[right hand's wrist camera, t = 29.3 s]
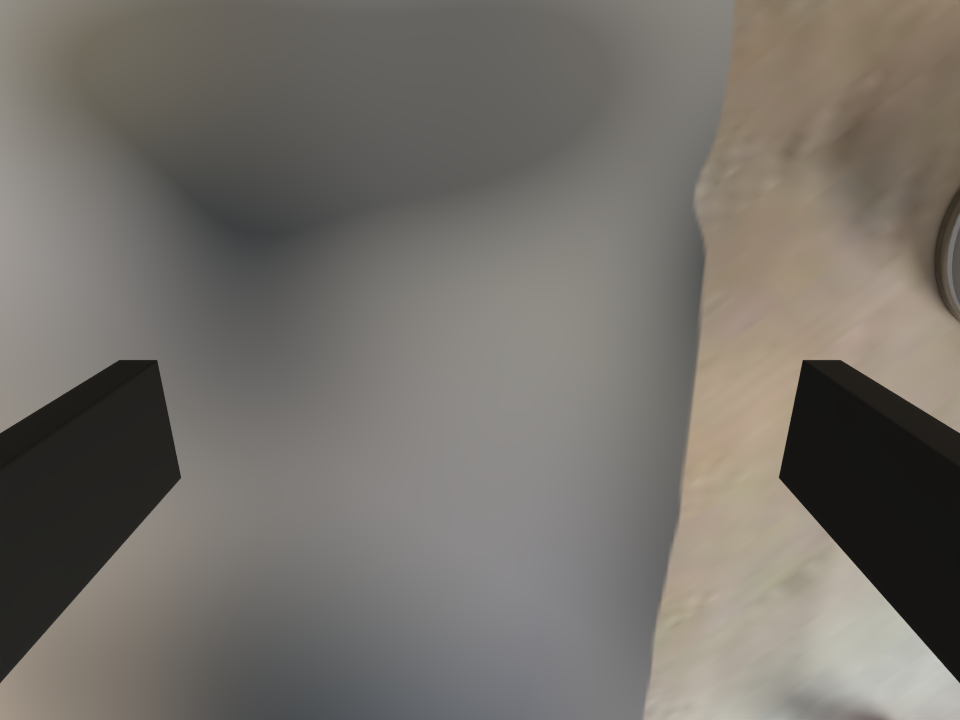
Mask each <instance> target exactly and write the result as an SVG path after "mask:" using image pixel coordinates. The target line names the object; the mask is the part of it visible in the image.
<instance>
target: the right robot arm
mask: <svg viewBox="0 0 960 720" xmlns="http://www.w3.org/2000/svg"><path fill="white" fill-rule="evenodd" d="M935 272H936V279H937V284H938V288H939V291H940V294H941V296H942V299H943V301H944V302H945V304H946V306H947V308H948V309H949V310H950V312H951V313H952V314H953V315H954V316H955V318H956V319H957V320H958V321H960V190H959V192H958V193H957V195H956V197H955V198H954V200H953V202H952V204H951V205H950V208H949V210H948V212H947V214H946V216H945V219H944V221H943V224H942V227H941V230H940V233H939V237H938V241H937V247H936V256H935ZM180 478H181V475H180V470H179V465H178V460H177V456H176V451H175V446H174V441H173V436H172V431H171V426H170V421H169V416H168V411H167V406H166V402H165V397H164V392H163V387H162V382H161V377H160V372H159V367H158V362H157V360H119V361H117V362H116V363H114V364H112V365H111V366H109V367H107V368H106V369H104V370H103V371H101V372H99V373H98V374H96V375H95V376H93V377H91V378H90V379H88V380H86V381H85V382H83V383H82V384H80V385H78V386H77V387H75V388H73V389H72V390H70V391H69V392H67V393H65V394H64V395H62V396H60V397H59V398H57V399H55V400H54V401H52V402H51V403H49V404H47V405H46V406H44V407H42V408H41V409H39V410H37V411H36V412H34V413H33V414H31V415H29V416H28V417H26V418H24V419H23V420H21V421H20V422H18V423H16V424H15V425H13V426H11V427H10V428H8V429H7V430H5V431H3V432H2V433H0V683H1V681H2V680H3V679H4V678H5V677H6V676H7V675H8V674H9V672H10V671H11V670H12V669H13V668H14V667H15V666H16V664H17V663H18V662H19V661H20V660H21V659H22V658H23V657H24V655H25V654H26V653H27V652H28V651H29V650H30V649H31V647H32V646H33V645H34V644H35V643H36V642H37V641H38V639H39V638H40V637H41V636H42V635H43V634H44V633H45V632H46V630H47V629H48V628H49V627H50V626H51V625H52V624H53V622H54V621H55V620H56V619H57V618H58V617H59V616H60V615H61V613H62V612H63V611H64V610H65V609H66V608H67V607H68V605H69V604H70V603H71V602H72V601H73V600H74V599H75V598H76V596H77V595H78V594H79V593H80V592H81V591H82V589H83V588H84V587H85V586H86V585H87V584H88V583H89V582H90V581H91V579H92V578H93V577H94V576H95V575H96V574H97V573H98V571H99V570H100V569H101V568H102V567H103V566H104V565H105V563H106V562H107V561H108V560H109V559H110V558H111V557H112V556H113V554H114V553H115V552H116V551H117V550H118V549H119V548H120V546H121V545H122V544H123V543H124V542H125V541H126V540H127V539H128V537H129V536H130V535H131V534H132V533H133V532H134V531H135V529H136V528H137V527H138V526H139V525H140V524H141V523H142V522H143V520H144V519H145V518H146V517H147V516H148V515H149V514H150V512H151V511H152V510H153V509H154V508H155V507H156V506H157V505H158V503H159V502H160V501H161V500H162V499H163V498H164V497H165V495H166V494H167V493H168V492H169V491H170V490H171V489H172V488H173V486H174V485H175V484H176V483H177V482H178V481H179V480H180ZM779 478H780V480H781V481H782V482H783V483H784V484H785V485H786V486H787V488H788V489H789V490H790V491H791V492H792V493H793V494H794V495H795V497H796V498H797V499H798V500H799V501H800V502H801V503H802V505H803V506H804V507H805V508H806V509H807V510H808V511H809V512H810V514H811V515H812V516H813V517H814V518H815V519H816V520H817V522H818V523H819V524H820V525H821V526H822V527H823V528H824V529H825V531H826V532H827V533H828V534H829V535H830V536H831V537H832V539H833V540H834V541H835V542H836V543H837V544H838V545H839V547H840V548H841V549H842V550H843V551H844V552H845V553H846V554H847V556H848V557H849V558H850V559H851V560H852V561H853V562H854V564H855V565H856V566H857V567H858V568H859V569H860V570H861V571H862V573H863V574H864V575H865V576H866V577H867V578H868V579H869V581H870V582H871V583H872V584H873V585H874V586H875V587H876V588H877V590H878V591H879V592H880V593H881V594H882V595H883V596H884V598H885V599H886V600H887V601H888V602H889V603H890V604H891V605H892V607H893V608H894V609H895V610H896V611H897V612H898V613H899V615H900V616H901V617H902V618H903V619H904V620H905V621H906V623H907V624H908V625H909V626H910V627H911V628H912V629H913V630H914V632H915V633H916V634H917V635H918V636H919V637H920V638H921V640H922V641H923V642H924V643H925V644H926V645H927V646H928V647H929V649H930V650H931V651H932V652H933V653H934V654H935V655H936V657H937V658H938V659H939V660H940V661H941V662H942V663H943V664H944V666H945V667H946V668H947V669H948V670H949V671H950V672H951V674H952V675H953V676H954V677H955V678H956V679H957V680H958V682H959V683H960V433H958V432H957V431H955V430H953V429H952V428H950V427H949V426H947V425H945V424H944V423H942V422H940V421H939V420H937V419H936V418H934V417H932V416H931V415H929V414H927V413H926V412H924V411H923V410H921V409H919V408H918V407H916V406H914V405H913V404H911V403H909V402H908V401H906V400H905V399H903V398H901V397H900V396H898V395H896V394H895V393H893V392H892V391H890V390H888V389H887V388H885V387H883V386H882V385H880V384H879V383H877V382H875V381H874V380H872V379H870V378H869V377H867V376H866V375H864V374H862V373H861V372H859V371H857V370H856V369H854V368H853V367H851V366H849V365H848V364H846V363H844V362H843V361H841V360H803V362H802V367H801V372H800V377H799V382H798V387H797V392H796V397H795V401H794V406H793V411H792V416H791V421H790V426H789V431H788V436H787V441H786V446H785V451H784V455H783V460H782V465H781V470H780V475H779Z"/></svg>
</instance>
